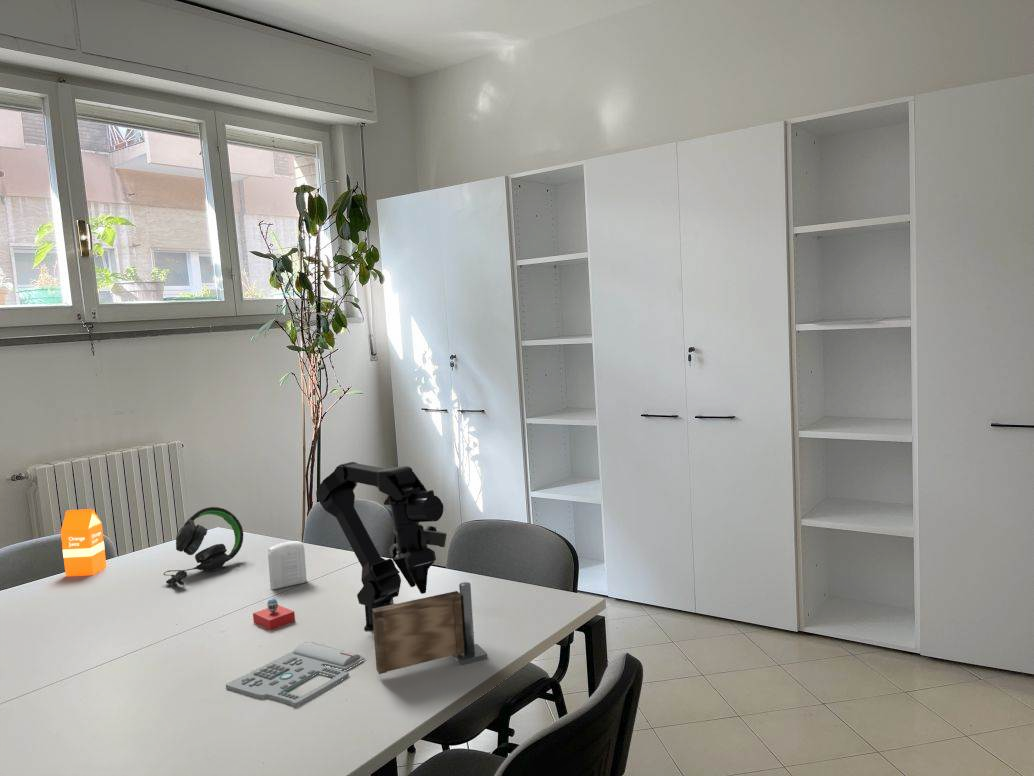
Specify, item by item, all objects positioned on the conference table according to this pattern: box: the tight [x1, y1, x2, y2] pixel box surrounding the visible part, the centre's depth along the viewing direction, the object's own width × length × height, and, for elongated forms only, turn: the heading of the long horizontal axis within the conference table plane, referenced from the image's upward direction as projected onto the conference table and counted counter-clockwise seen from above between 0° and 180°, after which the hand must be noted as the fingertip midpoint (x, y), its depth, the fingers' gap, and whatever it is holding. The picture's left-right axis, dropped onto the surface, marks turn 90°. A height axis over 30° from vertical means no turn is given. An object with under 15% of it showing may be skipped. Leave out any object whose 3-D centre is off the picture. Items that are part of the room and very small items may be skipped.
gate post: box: [452, 581, 489, 666], centre depth 164 cm, size 6×6×16 cm
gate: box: [372, 590, 464, 675], centre depth 160 cm, size 18×2×13 cm, turn 115°
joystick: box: [252, 597, 296, 632], centre depth 190 cm, size 8×7×6 cm
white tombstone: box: [267, 540, 308, 590], centre depth 218 cm, size 10×4×12 cm, turn 123°
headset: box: [163, 506, 244, 587], centre depth 233 cm, size 18×14×29 cm
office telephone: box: [225, 641, 365, 708], centre depth 161 cm, size 23×3×20 cm
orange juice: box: [60, 508, 107, 577], centre depth 241 cm, size 8×9×20 cm
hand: (418, 589), depth 175 cm, fingers open, 9 cm apart
